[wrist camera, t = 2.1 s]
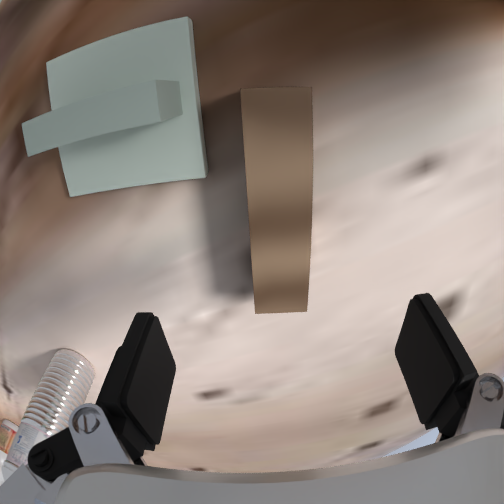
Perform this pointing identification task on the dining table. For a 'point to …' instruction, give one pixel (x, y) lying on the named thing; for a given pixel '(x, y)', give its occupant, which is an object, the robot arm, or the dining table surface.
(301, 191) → the walnut bar
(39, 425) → the water bottle
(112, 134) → the block
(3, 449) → the fruit juice
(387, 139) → the dining table surface
